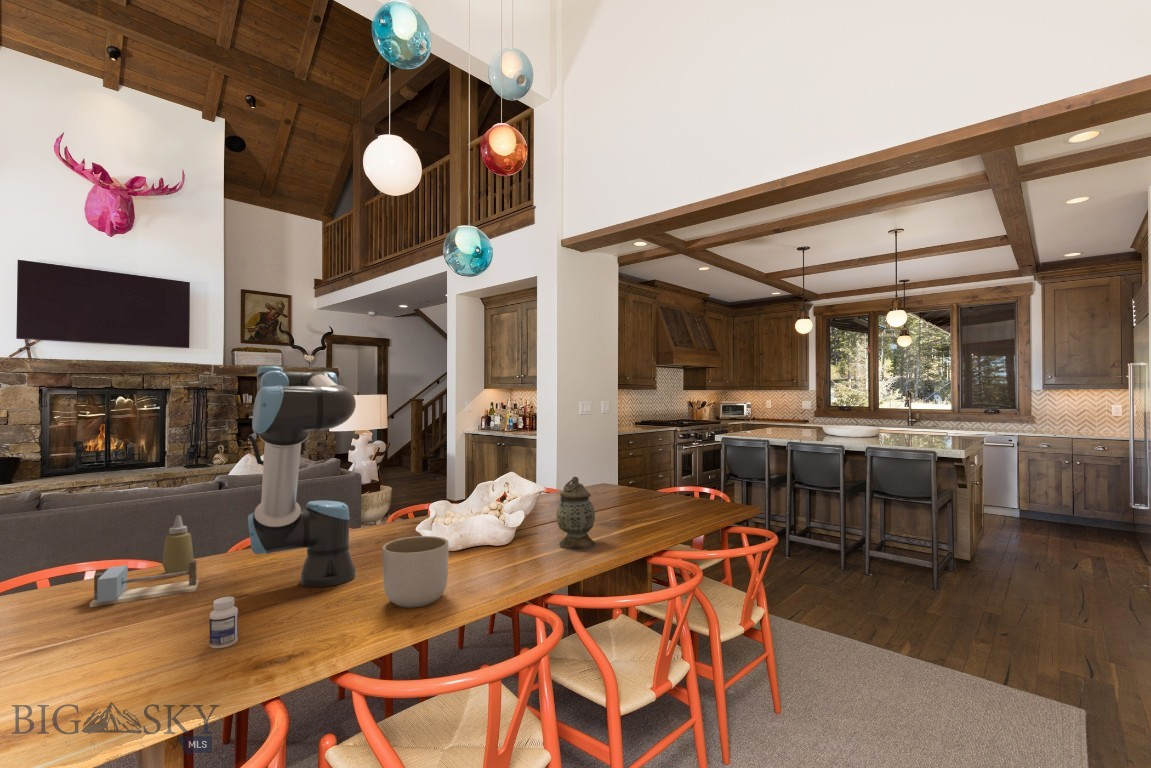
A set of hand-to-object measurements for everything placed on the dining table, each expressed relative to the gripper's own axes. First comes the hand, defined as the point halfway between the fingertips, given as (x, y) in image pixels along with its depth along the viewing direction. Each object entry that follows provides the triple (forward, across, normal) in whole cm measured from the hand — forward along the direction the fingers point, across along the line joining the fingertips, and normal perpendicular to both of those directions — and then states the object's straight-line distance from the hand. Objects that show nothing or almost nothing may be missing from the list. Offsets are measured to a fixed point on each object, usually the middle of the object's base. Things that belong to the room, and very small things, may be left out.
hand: (270, 485), depth 178 cm
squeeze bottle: (+27, +26, -7) cm, 38 cm away
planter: (+27, -35, +56) cm, 71 cm away
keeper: (+25, +38, +12) cm, 47 cm away
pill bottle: (+27, +8, +59) cm, 66 cm away
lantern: (+27, -98, +31) cm, 106 cm away
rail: (+26, +30, +12) cm, 42 cm away
